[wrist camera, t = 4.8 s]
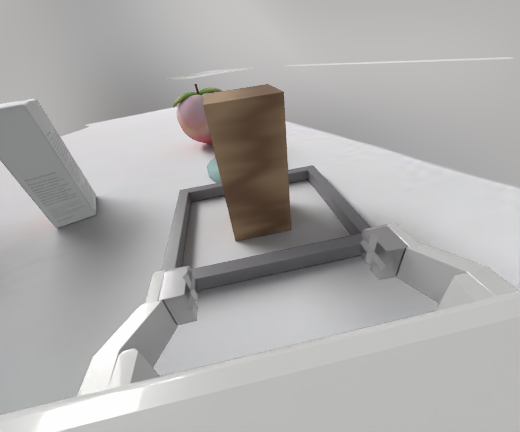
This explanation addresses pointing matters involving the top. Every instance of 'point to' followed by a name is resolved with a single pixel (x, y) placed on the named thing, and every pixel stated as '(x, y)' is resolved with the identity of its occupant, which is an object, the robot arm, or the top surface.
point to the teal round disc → (213, 170)
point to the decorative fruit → (194, 114)
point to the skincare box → (43, 164)
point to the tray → (273, 260)
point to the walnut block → (251, 157)
